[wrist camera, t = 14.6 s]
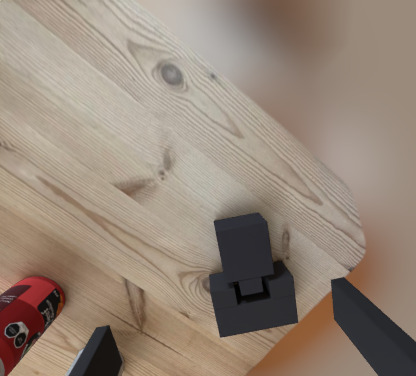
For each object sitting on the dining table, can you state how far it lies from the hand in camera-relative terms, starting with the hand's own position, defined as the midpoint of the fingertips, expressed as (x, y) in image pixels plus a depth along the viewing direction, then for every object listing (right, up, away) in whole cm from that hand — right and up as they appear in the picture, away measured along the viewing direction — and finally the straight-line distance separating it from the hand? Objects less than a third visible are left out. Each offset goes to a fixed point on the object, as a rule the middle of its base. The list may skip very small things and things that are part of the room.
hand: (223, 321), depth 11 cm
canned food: (-28, -10, +20) cm, 36 cm away
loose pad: (+4, -2, +20) cm, 20 cm away
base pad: (+6, -9, +21) cm, 24 cm away
